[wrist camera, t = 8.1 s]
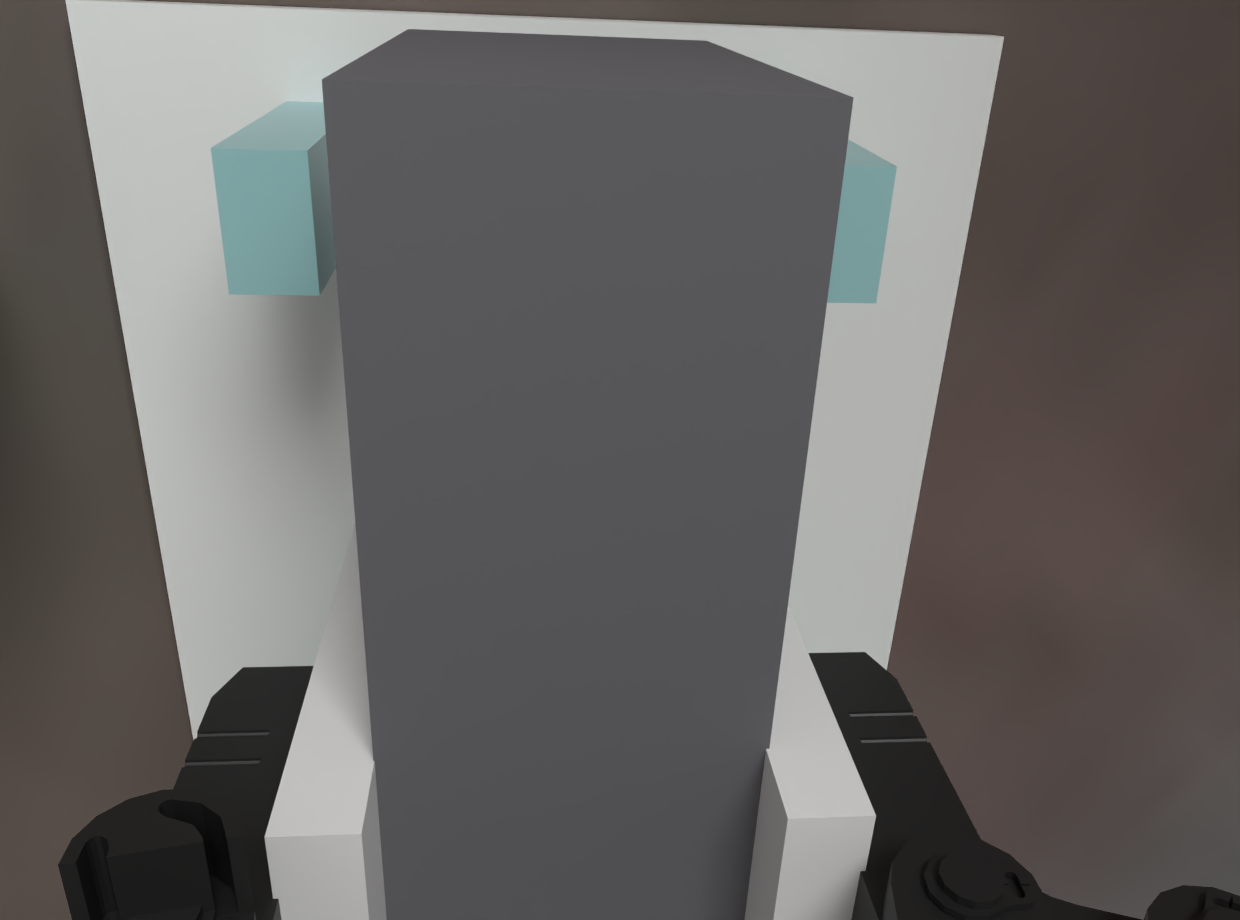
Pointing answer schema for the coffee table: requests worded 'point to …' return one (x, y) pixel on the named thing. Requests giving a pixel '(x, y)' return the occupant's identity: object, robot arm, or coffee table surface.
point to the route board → (310, 321)
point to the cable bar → (576, 454)
